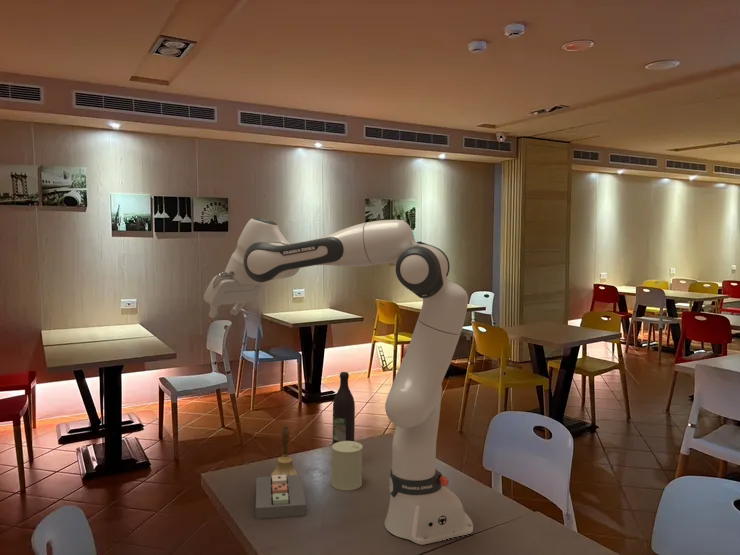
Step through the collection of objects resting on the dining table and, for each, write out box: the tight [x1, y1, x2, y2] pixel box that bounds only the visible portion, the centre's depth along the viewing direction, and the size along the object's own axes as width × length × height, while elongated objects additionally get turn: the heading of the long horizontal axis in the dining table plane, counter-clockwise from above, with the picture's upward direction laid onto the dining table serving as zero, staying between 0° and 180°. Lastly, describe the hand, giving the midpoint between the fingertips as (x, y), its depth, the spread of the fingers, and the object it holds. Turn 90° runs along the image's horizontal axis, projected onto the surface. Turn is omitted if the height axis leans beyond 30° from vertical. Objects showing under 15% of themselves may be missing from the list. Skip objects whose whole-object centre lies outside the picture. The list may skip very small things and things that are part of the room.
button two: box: [273, 493, 288, 505], centre depth 151 cm, size 4×4×3 cm
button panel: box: [255, 474, 307, 520], centre depth 157 cm, size 13×19×3 cm
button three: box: [272, 483, 287, 495], centre depth 157 cm, size 4×4×3 cm
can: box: [330, 440, 364, 492], centre depth 169 cm, size 9×9×12 cm
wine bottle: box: [332, 371, 356, 445], centre depth 183 cm, size 7×7×30 cm
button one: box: [272, 475, 287, 484], centre depth 163 cm, size 4×4×3 cm
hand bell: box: [270, 424, 299, 477], centre depth 173 cm, size 8×8×16 cm
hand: (223, 315), depth 158 cm, fingers open, 8 cm apart
